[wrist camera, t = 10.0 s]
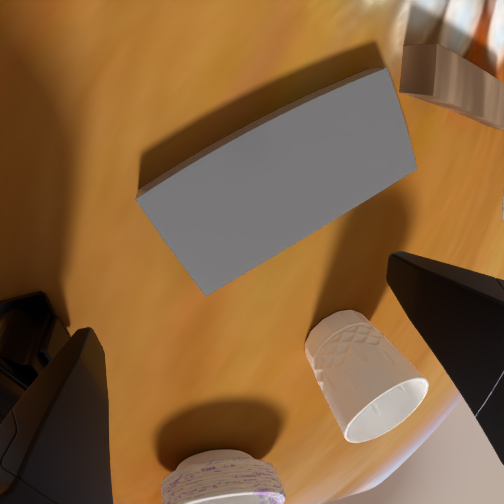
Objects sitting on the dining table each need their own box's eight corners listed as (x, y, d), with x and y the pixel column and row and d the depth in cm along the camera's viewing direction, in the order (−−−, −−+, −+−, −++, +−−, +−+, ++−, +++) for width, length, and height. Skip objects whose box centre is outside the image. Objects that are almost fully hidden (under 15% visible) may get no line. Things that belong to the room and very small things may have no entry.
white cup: (343, 289, 27) (409, 366, 19) (382, 323, 31) (439, 388, 23) (281, 350, 29) (325, 438, 20) (328, 374, 33) (372, 445, 24)
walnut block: (433, 96, 17) (515, 134, 21) (437, 43, 16) (520, 95, 19) (397, 92, 21) (485, 125, 24) (401, 45, 19) (489, 89, 23)
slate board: (201, 280, 23) (205, 296, 22) (137, 190, 19) (135, 199, 17) (401, 162, 23) (417, 168, 22) (370, 68, 19) (386, 67, 18)
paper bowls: (133, 462, 32) (139, 515, 26) (236, 422, 33) (256, 481, 26) (198, 491, 40) (208, 533, 33) (284, 459, 40) (302, 502, 34)
